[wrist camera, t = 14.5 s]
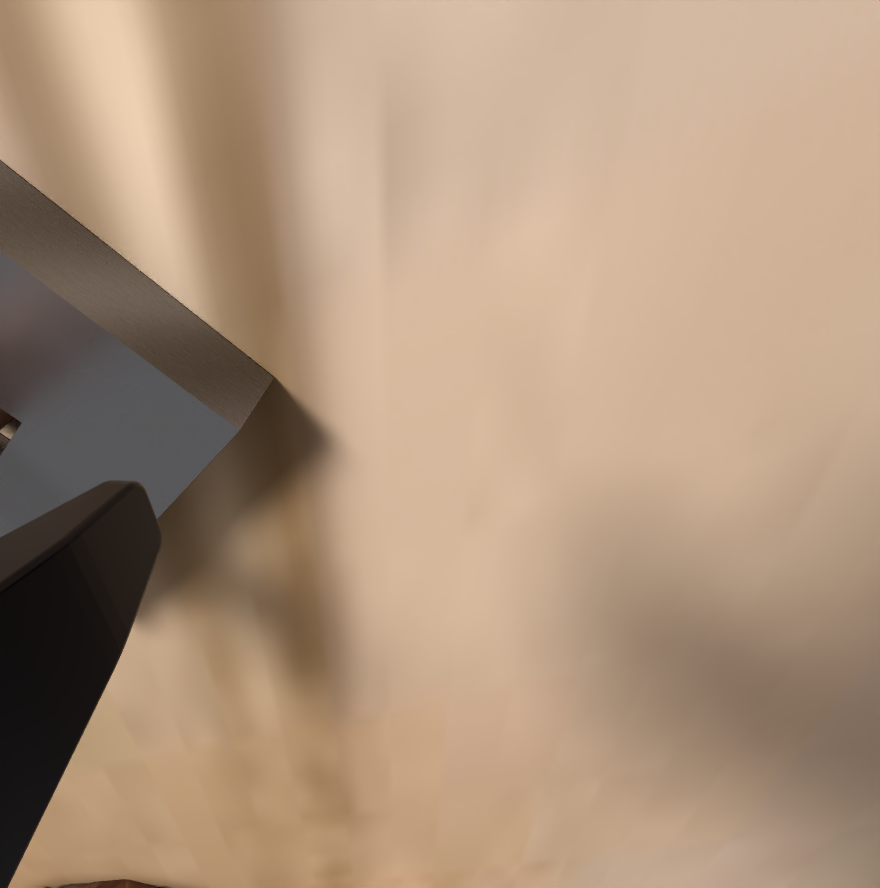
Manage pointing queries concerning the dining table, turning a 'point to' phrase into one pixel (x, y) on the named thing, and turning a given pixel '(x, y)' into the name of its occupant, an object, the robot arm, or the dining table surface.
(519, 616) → the dining table surface
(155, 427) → the dark grey square base
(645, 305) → the dining table surface
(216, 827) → the dining table surface
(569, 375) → the dining table surface
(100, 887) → the chocolate cake
